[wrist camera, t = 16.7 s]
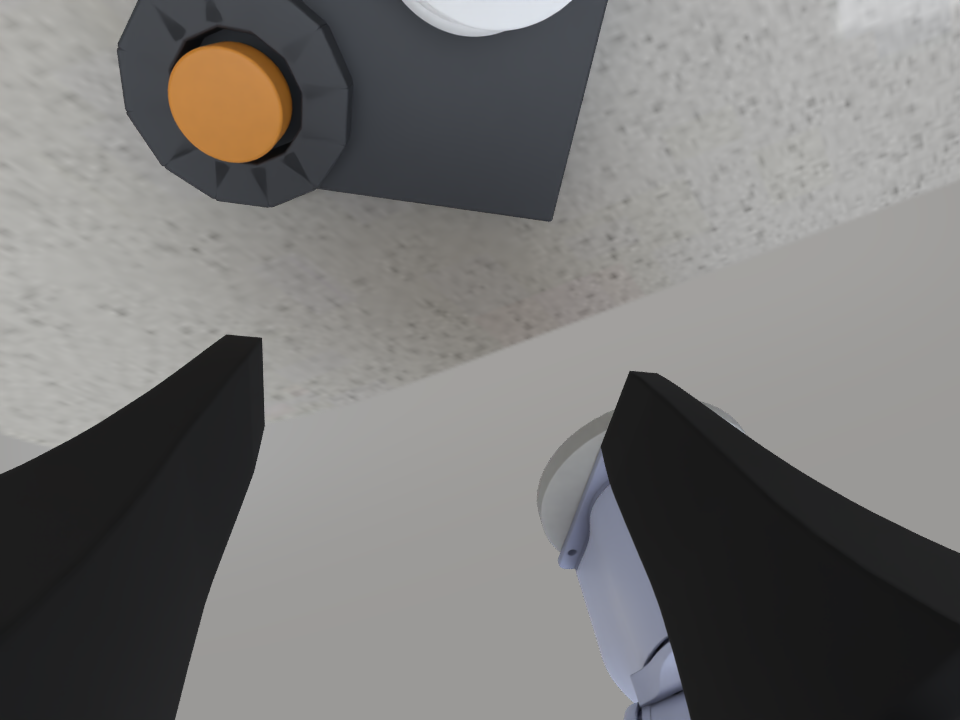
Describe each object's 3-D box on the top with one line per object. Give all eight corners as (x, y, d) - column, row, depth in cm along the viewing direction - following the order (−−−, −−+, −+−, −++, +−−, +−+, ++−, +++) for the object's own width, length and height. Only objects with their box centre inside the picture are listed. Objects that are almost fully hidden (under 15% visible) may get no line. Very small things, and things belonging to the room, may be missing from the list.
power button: (292, 156, 16) (282, 171, 14) (192, 141, 15) (172, 154, 14) (292, 51, 14) (282, 57, 13) (182, 31, 14) (159, 34, 12)
